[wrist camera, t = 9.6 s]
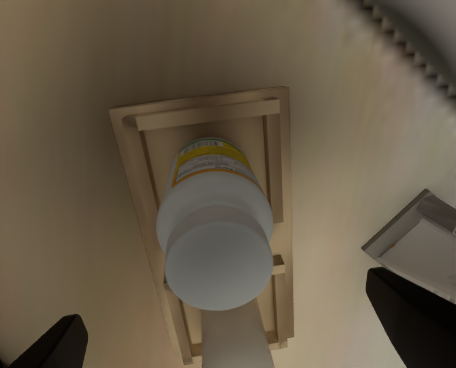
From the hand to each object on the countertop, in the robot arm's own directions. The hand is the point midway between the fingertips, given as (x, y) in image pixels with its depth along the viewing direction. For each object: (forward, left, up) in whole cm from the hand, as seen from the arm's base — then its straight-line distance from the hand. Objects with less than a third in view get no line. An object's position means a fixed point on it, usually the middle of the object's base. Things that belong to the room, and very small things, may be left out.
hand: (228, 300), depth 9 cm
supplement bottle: (0, 0, -11) cm, 11 cm away
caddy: (0, -6, -12) cm, 14 cm away
